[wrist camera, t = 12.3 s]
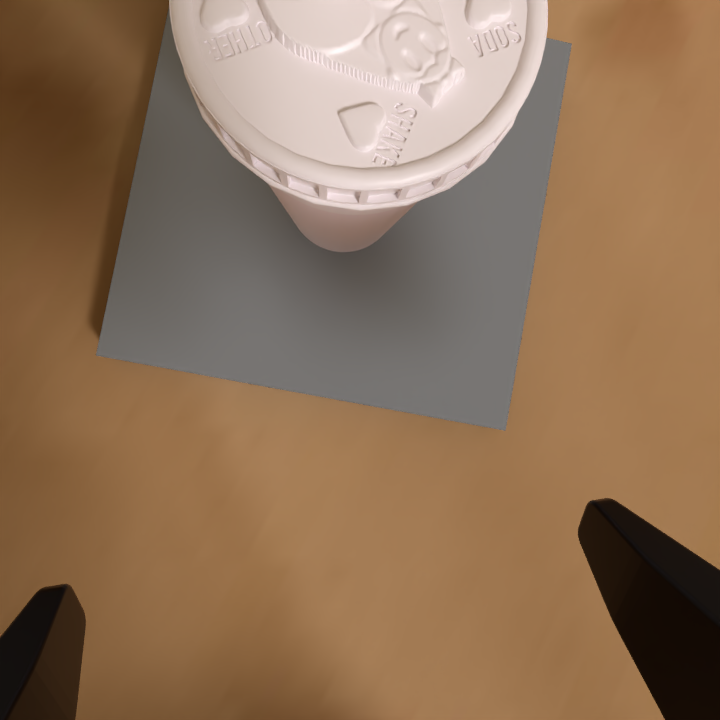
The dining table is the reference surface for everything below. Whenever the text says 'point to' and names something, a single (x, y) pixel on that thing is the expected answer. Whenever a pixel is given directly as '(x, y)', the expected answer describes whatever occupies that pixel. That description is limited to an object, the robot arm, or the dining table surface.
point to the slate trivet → (330, 270)
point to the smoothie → (359, 97)
